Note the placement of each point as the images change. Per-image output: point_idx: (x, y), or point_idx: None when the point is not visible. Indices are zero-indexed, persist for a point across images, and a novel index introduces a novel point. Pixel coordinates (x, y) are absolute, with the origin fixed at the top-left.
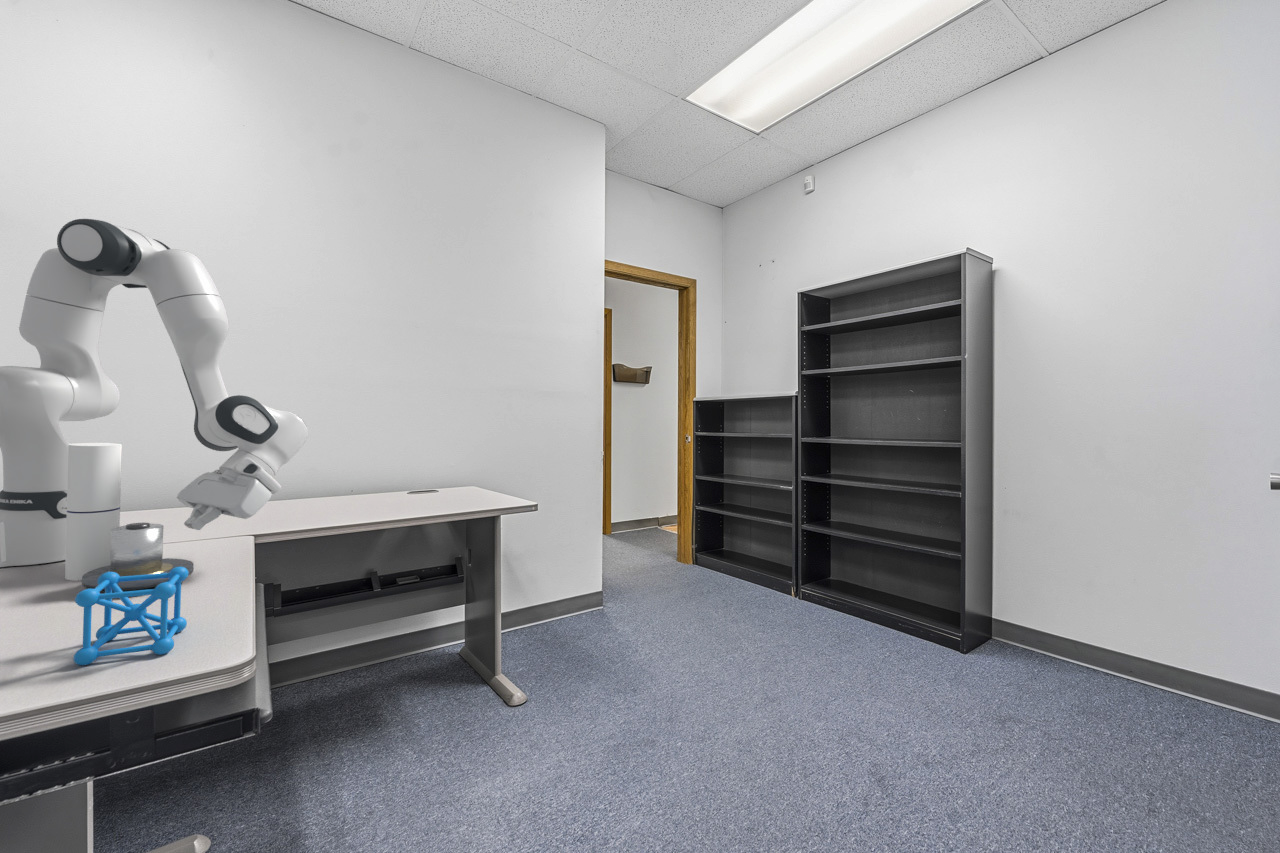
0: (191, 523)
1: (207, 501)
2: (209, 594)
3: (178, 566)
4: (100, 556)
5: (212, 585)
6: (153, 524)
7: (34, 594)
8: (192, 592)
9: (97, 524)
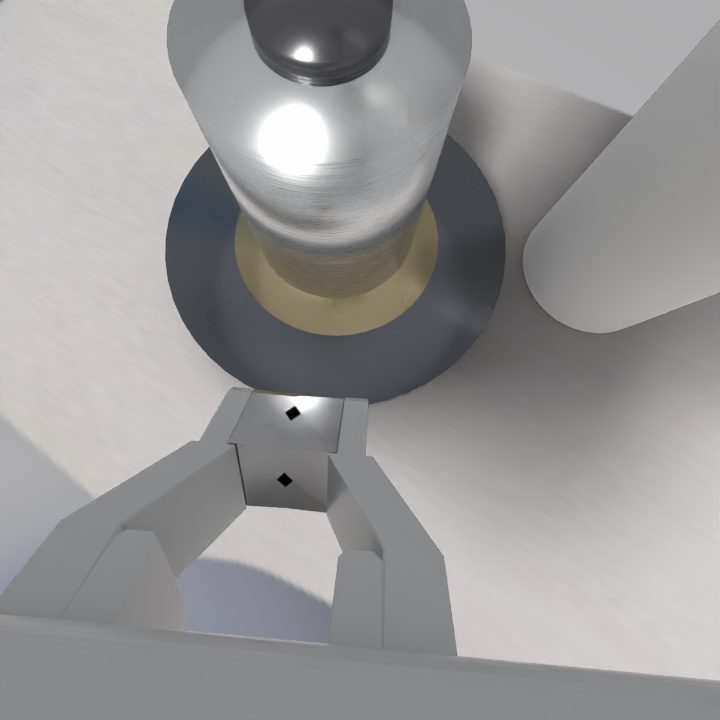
0: (265, 395)
1: (114, 691)
2: (34, 290)
3: (255, 326)
4: (570, 207)
5: (108, 357)
6: (345, 135)
7: (497, 104)
8: (105, 281)
9: (716, 37)
